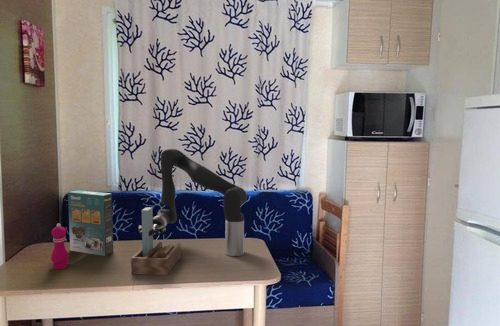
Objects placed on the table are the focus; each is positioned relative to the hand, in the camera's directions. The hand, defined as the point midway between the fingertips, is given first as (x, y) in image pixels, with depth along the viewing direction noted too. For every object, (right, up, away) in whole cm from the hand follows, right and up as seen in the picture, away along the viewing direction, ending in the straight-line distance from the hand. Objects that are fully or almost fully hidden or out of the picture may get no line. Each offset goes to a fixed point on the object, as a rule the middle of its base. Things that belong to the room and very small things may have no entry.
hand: (145, 234), depth 184 cm
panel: (0, -15, +5) cm, 15 cm away
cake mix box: (-33, -13, +21) cm, 41 cm away
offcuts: (+7, -15, +4) cm, 17 cm away
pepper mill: (-38, -15, 0) cm, 41 cm away
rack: (+5, -15, +4) cm, 16 cm away
